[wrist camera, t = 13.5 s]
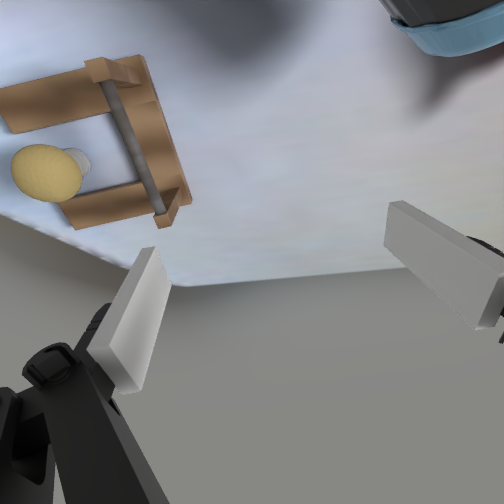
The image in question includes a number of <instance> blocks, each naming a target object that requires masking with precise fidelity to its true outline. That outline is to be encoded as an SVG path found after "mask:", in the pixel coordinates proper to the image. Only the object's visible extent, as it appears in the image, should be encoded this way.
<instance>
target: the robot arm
mask: <svg viewBox="0 0 504 504" xmlns="http://www.w3.org/2000/svg"><path fill="white" fill-rule="evenodd" d="M379 1H380V2H381V3H382V5H383V6H384V7H385V9H386V10H387V11H388V13H389V14H390V16H391V21H392V23H393V24H394V25H395V26H396V27H397V28H398V29H400V30H402V31H405V32H406V33H407V35H408V36H409V37H410V38H411V39H412V40H413V41H414V43H415V44H416V45H417V46H418V47H419V48H420V49H421V50H422V51H423V52H425V53H427V54H429V55H432V56H442V57H443V56H445V57H455V56H461V55H466V54H470V53H474V52H477V51H480V50H483V49H486V48H489V47H491V46H494V45H496V44H498V43H501V42H503V41H504V0H379ZM384 246H385V247H386V248H387V249H388V250H389V251H390V252H391V253H392V254H393V255H394V256H395V257H397V258H398V259H399V260H400V261H401V262H402V263H403V264H404V265H405V266H406V267H407V268H408V269H410V270H411V271H412V272H413V273H414V274H415V275H416V276H417V277H418V278H419V279H420V280H421V281H422V282H424V283H425V284H426V285H427V286H428V287H429V288H430V289H431V290H432V291H433V292H434V293H435V294H437V295H438V296H439V297H440V298H441V299H442V300H443V301H444V302H445V303H446V304H447V305H448V306H449V307H451V308H452V309H453V310H454V311H455V312H456V313H457V314H458V315H459V316H460V317H461V318H462V319H463V320H465V321H466V322H467V323H468V324H469V325H470V326H471V327H472V328H473V329H474V330H479V329H484V328H490V327H494V326H495V325H496V323H497V321H498V319H499V317H500V315H502V316H503V317H504V254H503V252H502V251H500V250H498V249H496V248H494V247H493V246H491V245H489V244H487V243H486V242H484V241H482V240H479V239H476V238H472V237H469V236H464V235H463V234H461V233H459V232H457V231H456V230H454V229H452V228H450V227H449V226H447V225H445V224H443V223H442V222H440V221H438V220H436V219H435V218H433V217H431V216H429V215H428V214H426V213H424V212H422V211H421V210H419V209H417V208H415V207H414V206H412V205H410V204H408V203H407V202H405V201H403V200H402V201H396V202H391V203H389V207H388V215H387V222H386V230H385V237H384ZM171 285H172V284H171V282H170V279H169V277H168V275H167V272H166V270H165V268H164V265H163V263H162V260H161V258H160V256H159V253H158V251H157V248H156V246H154V247H148V248H143V249H142V250H141V251H140V253H139V255H138V257H137V259H136V260H135V262H134V264H133V266H132V268H131V269H130V271H129V273H128V275H127V277H126V279H125V280H124V282H123V284H122V286H121V288H120V290H119V291H118V293H117V295H116V297H115V299H114V300H113V302H112V303H107V304H105V305H104V306H103V307H102V308H101V309H99V310H98V311H97V312H96V314H95V315H94V317H93V319H92V320H91V324H89V325H88V327H87V329H86V332H84V334H83V335H82V337H81V339H80V340H79V342H78V344H77V345H76V347H75V349H74V350H72V349H71V348H70V346H69V345H68V344H66V343H60V342H59V343H56V344H52V345H50V346H48V347H46V348H44V349H42V350H40V351H39V352H38V353H36V354H35V355H34V356H33V357H32V358H31V359H30V360H29V361H28V362H27V363H26V365H25V366H24V368H23V371H22V375H23V376H24V377H25V378H26V379H27V380H28V381H29V382H30V383H31V384H32V385H34V386H33V387H31V388H28V389H26V390H24V391H22V392H20V393H17V394H16V393H15V392H14V391H13V390H11V389H10V388H8V387H1V388H0V504H53V491H54V477H55V462H56V465H57V469H58V473H59V477H60V481H61V485H62V489H63V493H64V497H65V502H66V504H169V502H168V500H167V498H166V496H165V494H164V492H163V490H162V488H161V487H160V485H159V483H158V481H157V479H156V477H155V475H154V473H153V472H152V470H151V468H150V466H149V464H148V462H147V460H146V459H145V457H144V455H143V453H142V451H141V449H140V447H139V445H138V444H137V442H136V440H135V438H134V436H133V434H132V432H131V431H130V429H129V427H128V425H127V423H126V421H125V419H124V417H123V416H122V414H121V412H120V410H119V408H118V406H117V404H116V402H115V401H114V399H113V398H112V397H111V396H112V393H113V391H114V388H115V387H116V388H117V389H118V390H119V392H120V393H121V395H123V394H129V393H134V392H140V391H141V390H142V386H143V383H144V379H145V376H146V372H147V369H148V365H149V361H150V358H151V354H152V351H153V348H154V344H155V341H156V337H157V334H158V330H159V327H160V323H161V320H162V316H163V313H164V309H165V305H166V302H167V299H168V295H169V292H170V288H171ZM503 342H504V332H503V334H502V336H501V338H500V340H499V343H502V344H503Z"/></svg>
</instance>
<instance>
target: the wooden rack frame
mask: <svg viewBox="0 0 504 504" xmlns="http://www.w3.org/2000/svg"><path fill="white" fill-rule="evenodd" d="M84 63H85V65H86V68H82V69H78V70H74V71H70V72H66V73H62V74H58V75H54V76H49V77H45V78H41V79H37V80H33V81H29V82H25V83H21V84H17V85H13V86H9V87H5V88H1V89H0V114H1V116H2V117H3V119H4V120H5V122H6V123H7V125H8V126H9V128H10V130H11V131H12V133H13V134H19V133H25V132H29V131H33V130H37V129H41V128H46V127H50V126H54V125H58V124H62V123H66V122H71V121H75V120H79V119H83V118H87V117H91V116H96V115H100V114H104V113H108V112H112V115H113V117H114V119H115V122H116V124H117V126H118V129H119V131H120V133H121V135H122V138H123V140H124V142H125V145H126V147H127V149H128V152H129V154H130V156H131V158H132V161H133V163H134V165H135V168H136V170H137V172H138V174H139V177H140V179H141V180H140V181H135V182H131V183H127V184H123V185H118V186H114V187H110V188H105V189H101V190H97V191H93V192H88V193H84V194H80V195H75V196H73V197H72V198H70V199H68V200H66V201H62V202H57V203H58V204H59V206H60V208H61V209H62V211H63V212H64V214H65V215H66V217H67V219H68V220H69V222H70V223H71V225H72V226H73V228H74V229H75V230H79V229H84V228H88V227H92V226H97V225H101V224H106V223H110V222H114V221H119V220H123V219H127V218H132V217H136V216H140V215H145V214H149V213H153V212H155V215H154V216H153V218H154V220H155V223H156V225H157V227H158V229H161V228H165V227H169V226H171V225H172V223H173V221H174V218H175V216H176V214H177V211H178V209H179V207H180V206H184V205H188V204H191V203H192V196H191V193H190V190H189V187H188V185H187V182H186V179H185V176H184V173H183V170H182V167H181V164H180V161H179V158H178V155H177V152H176V149H175V146H174V144H173V141H172V138H171V135H170V132H169V129H168V126H167V123H166V120H165V117H164V114H163V111H162V108H161V105H160V102H159V100H158V97H157V94H156V91H155V88H154V85H153V82H152V79H151V76H150V73H149V70H148V67H147V64H146V61H145V59H144V57H143V56H141V55H135V56H131V57H127V58H123V59H119V60H115V61H112V60H109V59H106V58H103V57H100V58H96V59H92V60H87V61H84Z"/></svg>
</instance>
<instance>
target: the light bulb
mask: <svg viewBox="0 0 504 504" xmlns="http://www.w3.org/2000/svg"><path fill="white" fill-rule="evenodd" d="M90 170H91V163H90V160H89V158H88V157H87V156H86V155H85V154H84V153H83V152H82V151H80V150H78V149H75V148H68V149H65V150H61V149H59V148H57V147H54V146H50V145H44V144H36V145H30V146H27V147H24V148H22V149H21V150H19V151H18V152H17V153H16V154H15V155H14V157H13V159H12V162H11V172H12V176H13V179H14V181H15V183H16V185H17V186H18V188H19V189H20V190H21V191H22V192H23V193H25V194H26V195H28V196H30V197H32V198H34V199H37V200H40V201H44V202H62V201H66V200H68V199H70V198H72V197H73V196H74V195H76V193H77V192H78V191H79V189H80V187H81V184H82V177H83V176H85V175H87V174H88V173H89V172H90Z"/></svg>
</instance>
